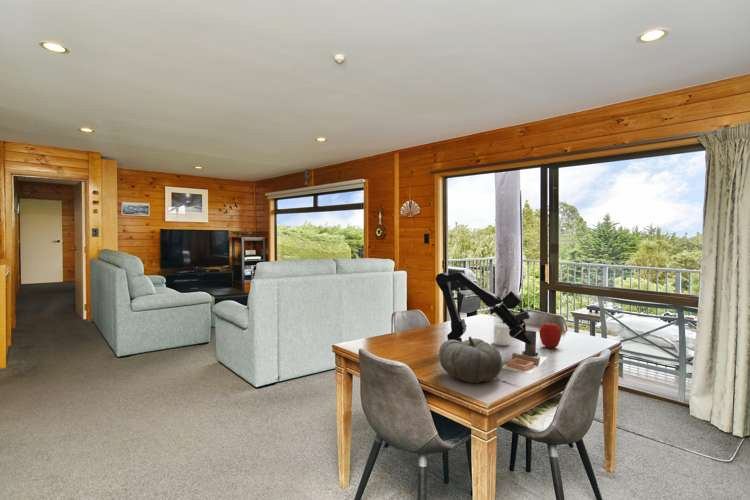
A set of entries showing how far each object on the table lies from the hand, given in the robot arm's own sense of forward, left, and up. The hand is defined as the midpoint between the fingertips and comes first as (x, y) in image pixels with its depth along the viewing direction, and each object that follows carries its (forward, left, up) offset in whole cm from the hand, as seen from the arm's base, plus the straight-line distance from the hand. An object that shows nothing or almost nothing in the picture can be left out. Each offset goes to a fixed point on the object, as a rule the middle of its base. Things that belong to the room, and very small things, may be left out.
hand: (530, 341), depth 179 cm
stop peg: (0, 0, -8) cm, 8 cm away
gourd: (-39, -9, -9) cm, 41 cm away
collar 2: (0, 0, -8) cm, 8 cm away
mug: (+3, +25, -9) cm, 27 cm away
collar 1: (-13, -8, -8) cm, 17 cm away
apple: (+25, +14, -9) cm, 30 cm away
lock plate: (-6, -4, -9) cm, 12 cm away
